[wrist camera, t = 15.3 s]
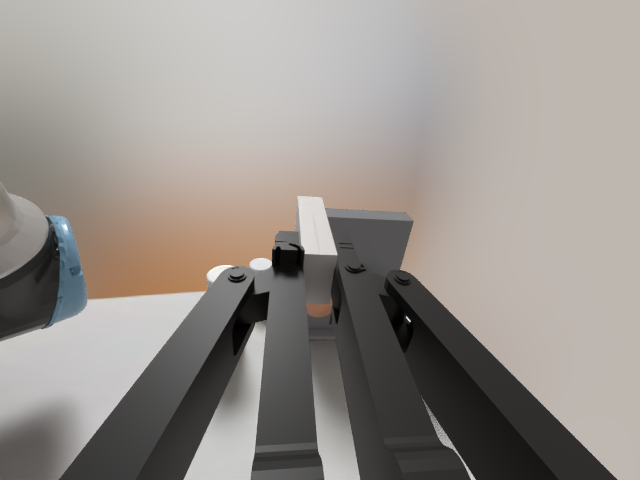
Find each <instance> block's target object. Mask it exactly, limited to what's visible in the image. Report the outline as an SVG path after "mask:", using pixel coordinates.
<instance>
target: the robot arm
mask: <svg viewBox="0 0 640 480" xmlns="http://www.w3.org/2000/svg"><path fill="white" fill-rule="evenodd" d="M331 298H332V308H331V314H330V320H329V324H332V320H333V326H334V332H335V337H336V343H337V349H338V354H339V360H340V366H341V372H342V377H343V383H344V389H345V394H346V400H347V406H348V412H349V417H350V423H351V429H352V434H353V440H354V446H355V451H356V457H357V463H358V469H359V474H360V480H471V479H470V477H469V475H468V472H467V470H466V468H465V466H464V464H463V463H462V461H461V459H460V457H459V456H458V455H457V454H456V452H455V451H454V450H453V449H451V448H449V447H446V446H444V445H443V444H442V443H441V442H440V440H439V438H438V436H437V434H436V431H435V429H434V426H433V424H432V422H431V419H430V417H429V414H428V412H427V410H426V407H425V405H424V402H423V400H422V398H423V399H424V401H425V402H426V404H427V405H428V407H429V408H430V410H431V411H432V413H433V414H434V416H435V417H436V419H437V421H438V422H439V424H440V425H441V427H442V428H443V430H444V431H445V433H446V434H447V436H448V437H449V439H450V440H451V442H452V443H453V445H454V447H455V448H456V450H457V451H458V453H459V454H460V456H461V457H462V459H463V460H464V462H465V463H466V465H467V466H468V468H469V470H470V471H471V473H472V474H473V476H474V477H475V479H476V480H617V479H616V478H615V477H614V476H613V475H612V474H611V473H610V472H609V471H608V470H607V469H606V468H605V467H604V466H603V465H602V464H601V463H600V462H599V461H598V460H597V459H596V458H595V457H594V456H593V455H592V454H591V453H590V452H589V451H588V450H587V449H586V448H585V447H584V446H583V445H582V444H581V443H580V442H579V441H578V440H577V439H576V438H575V437H574V436H573V435H572V434H571V433H570V432H569V431H568V430H567V429H566V428H565V427H564V426H563V425H562V424H561V423H560V422H559V421H558V420H557V419H556V418H555V417H554V416H553V415H552V414H551V413H550V412H549V411H548V410H547V409H546V408H545V407H544V406H543V405H542V404H541V403H540V402H539V401H538V400H537V399H536V398H535V397H534V396H533V395H532V394H531V393H530V392H529V391H528V390H527V389H526V388H525V387H524V386H523V385H522V384H521V383H520V382H519V381H518V380H517V379H516V378H515V377H514V376H513V375H512V374H511V373H510V372H509V371H508V370H507V369H506V368H505V367H504V366H503V365H502V364H501V363H500V362H499V361H498V360H497V359H496V358H495V357H494V356H493V355H492V354H491V353H490V352H489V351H488V350H487V349H486V348H485V347H484V346H483V345H482V344H481V343H480V342H479V341H478V340H477V339H476V338H475V337H474V336H473V335H472V334H471V333H470V332H469V331H468V330H467V329H466V328H465V327H464V326H463V325H462V324H461V323H460V322H459V321H458V320H457V319H456V318H455V317H454V316H453V315H452V314H451V313H450V312H449V311H448V310H447V309H446V308H445V307H444V306H443V305H442V304H441V303H440V302H439V301H438V300H437V299H436V298H435V297H434V296H433V295H432V294H431V293H430V292H429V291H428V290H427V289H426V288H425V287H424V286H423V285H422V284H421V283H420V282H419V281H418V280H417V279H416V278H415V277H414V276H413V275H411V274H410V273H408V272H406V271H402V270H392V271H389V272H388V273H387V275H386V277H383V276H379V275H375V274H372V273H370V272H369V270H368V268H367V266H366V265H365V264H363V263H362V262H359V259H358V257H357V254H356V252H355V249H354V246H353V245H352V241H351V239H350V237H348V236H347V235H346V234H345V233H331V229H330V226H329V222H328V218H327V215H326V211H325V208H324V204H323V200H322V198H320V197H304V196H298V201H297V215H296V230H295V232H291V231H279V233H278V234H277V235H276V237H275V246H274V247H273V249H272V266H271V267H270V268H269V269H267V270H265V271H263V272H259V273H254V272H253V271H252V270H251V269H250V268H247V267H244V266H235V267H230V268H227V269H225V270H224V271H223V272H221V273H220V275H219V276H218V277H217V279H216V280H215V281H214V282H213V284H212V285H211V286H210V287H209V289H208V290H207V291H206V293H205V294H204V295H203V296H202V298H201V299H200V300H199V302H198V303H197V304H196V305H195V307H194V308H193V309H192V310H191V312H190V313H189V314H188V316H187V317H186V318H185V319H184V321H183V322H182V323H181V324H180V326H179V327H178V328H177V330H176V331H175V332H174V333H173V335H172V336H171V337H170V339H169V340H168V341H167V342H166V344H165V345H164V346H163V347H162V349H161V350H160V351H159V353H158V354H157V355H156V356H155V358H154V359H153V360H152V361H151V363H150V364H149V365H148V367H147V368H146V369H145V370H144V372H143V373H142V374H141V376H140V377H139V378H138V379H137V381H136V382H135V383H134V384H133V386H132V387H131V388H130V390H129V391H128V392H127V393H126V395H125V396H124V397H123V398H122V400H121V401H120V402H119V404H118V405H117V406H116V407H115V409H114V410H113V411H112V413H111V414H110V415H109V416H108V418H107V419H106V420H105V421H104V423H103V424H102V425H101V427H100V428H99V429H98V430H97V432H96V433H95V434H94V435H93V437H92V438H91V439H90V441H89V442H88V443H87V444H86V446H85V447H84V448H83V450H82V451H81V452H80V453H79V455H78V456H77V457H76V458H75V460H74V461H73V462H72V464H71V465H70V466H69V467H68V469H67V470H66V471H65V472H64V474H63V475H62V476H61V478H60V479H59V480H183V479H184V477H185V475H186V473H187V471H188V468H189V466H190V464H191V462H192V460H193V458H194V456H195V453H196V451H197V449H198V447H199V445H200V443H201V440H202V438H203V436H204V434H205V432H206V430H207V427H208V425H209V423H210V421H211V419H212V417H213V415H214V412H215V410H216V408H217V406H218V404H219V402H220V399H221V397H222V395H223V393H224V391H225V389H226V387H227V384H228V382H229V380H230V378H231V376H232V374H233V371H234V369H235V367H236V365H237V363H238V361H239V359H240V356H241V354H242V352H243V350H244V348H245V346H246V343H247V341H248V339H249V337H250V335H251V333H252V331H253V328H254V326H255V323H256V322H259V321H263V320H267V326H266V337H265V348H264V359H263V370H262V380H261V391H260V402H259V413H258V424H257V435H256V446H255V455H254V460H253V465H252V472H251V480H324V474H323V465H322V460H321V457H320V455H319V453H318V446H317V435H316V422H315V409H314V397H313V384H312V371H311V358H310V345H309V333H308V320H307V307H306V304H330V299H331ZM86 304H87V290H86V284H85V279H84V275H83V271H82V269H81V263H80V257H79V253H78V249H77V245H76V242H75V239H74V235H73V232H72V229H71V226H70V224H69V222H68V220H67V219H66V218H64V217H62V216H52V215H44V214H43V213H42V211H41V210H40V209H39V208H38V207H37V206H36V205H34V204H33V203H32V202H30V201H28V200H26V199H24V198H21V197H19V196H17V195H13V194H10V193H7V192H6V190H5V188H4V187H3V185H2V184H1V182H0V342H1V341H4V340H7V339H10V338H13V337H16V336H19V335H22V334H25V333H28V332H31V331H35V330H38V329H44V328H48V327H50V326H52V325H53V324H54V323H57V322H59V321H62V320H65V319H67V318H70V317H73V316H75V315H77V314H79V313H80V312H81V311H82V310H83V309H84V308H85V306H86ZM406 316H407V317H408V318H409V319H410V320H411V322H409V321H408V320H407V319H406ZM420 394H421V395H420ZM421 396H422V398H421Z"/></svg>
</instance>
